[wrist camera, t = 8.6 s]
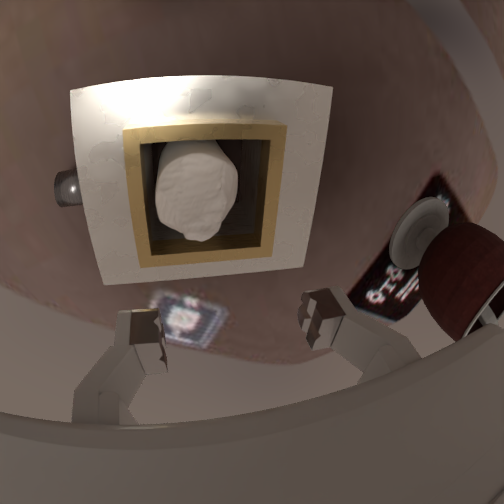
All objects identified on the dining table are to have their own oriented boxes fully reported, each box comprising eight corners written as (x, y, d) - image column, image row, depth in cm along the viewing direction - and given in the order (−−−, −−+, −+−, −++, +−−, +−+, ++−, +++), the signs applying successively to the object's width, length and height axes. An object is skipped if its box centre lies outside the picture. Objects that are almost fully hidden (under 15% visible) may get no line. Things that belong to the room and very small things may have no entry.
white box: (300, 82, 22) (347, 89, 16) (282, 233, 31) (311, 280, 25) (63, 93, 17) (19, 104, 11) (87, 249, 26) (69, 302, 20)
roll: (202, 148, 12) (280, 214, 16) (189, 117, 22) (235, 156, 25) (129, 239, 14) (209, 286, 17) (145, 169, 23) (193, 203, 27)
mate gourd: (374, 229, 34) (478, 344, 18) (444, 174, 32) (553, 255, 16) (395, 290, 43) (463, 381, 28) (452, 243, 41) (525, 318, 25)
